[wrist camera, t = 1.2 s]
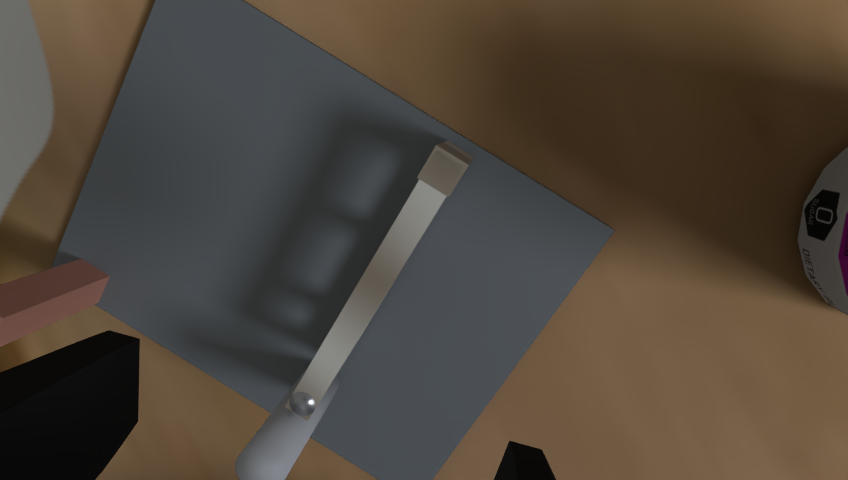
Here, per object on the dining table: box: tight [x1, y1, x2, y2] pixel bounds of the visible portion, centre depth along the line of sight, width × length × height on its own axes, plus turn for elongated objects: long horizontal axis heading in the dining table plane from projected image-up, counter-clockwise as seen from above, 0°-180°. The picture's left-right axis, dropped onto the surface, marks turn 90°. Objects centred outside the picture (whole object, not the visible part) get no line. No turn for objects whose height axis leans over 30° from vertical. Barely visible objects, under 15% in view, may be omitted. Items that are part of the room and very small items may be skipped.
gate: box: [285, 141, 474, 421], centre depth 19 cm, size 11×1×4 cm, turn 149°
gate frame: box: [0, 0, 615, 480], centre depth 20 cm, size 21×16×7 cm
